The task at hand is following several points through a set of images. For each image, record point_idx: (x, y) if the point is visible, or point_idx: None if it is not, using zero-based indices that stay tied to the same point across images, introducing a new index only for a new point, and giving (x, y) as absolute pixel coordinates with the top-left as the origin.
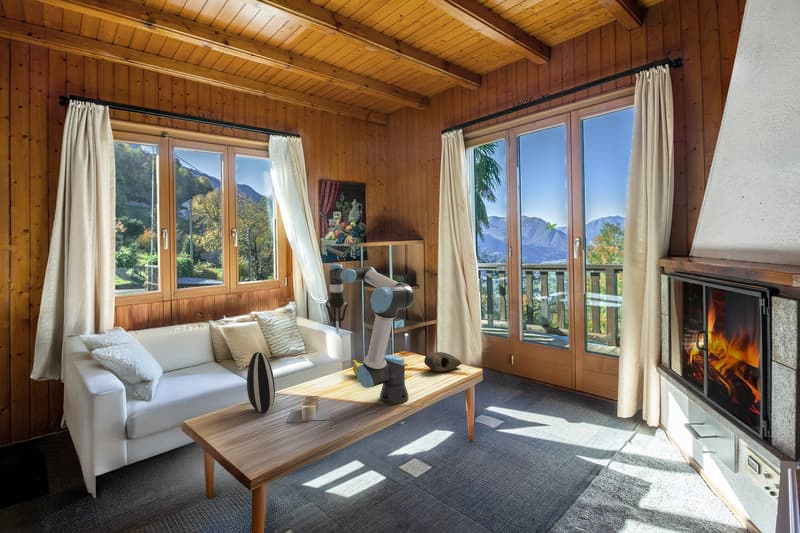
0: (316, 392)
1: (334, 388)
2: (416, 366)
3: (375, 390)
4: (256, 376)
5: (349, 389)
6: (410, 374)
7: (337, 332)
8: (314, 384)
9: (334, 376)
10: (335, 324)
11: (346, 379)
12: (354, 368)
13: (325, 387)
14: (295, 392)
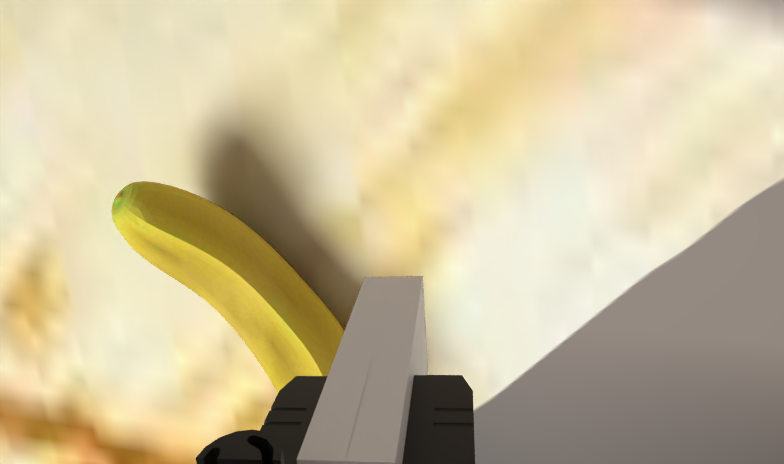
0: (607, 52)
1: (476, 126)
2: (10, 460)
3: (181, 61)
4: None
5: (364, 96)
6: (16, 334)
7: (393, 284)
8: (631, 223)
9: (496, 361)
10: (427, 429)
11: None
12: None
13: (544, 153)
14: (776, 64)
